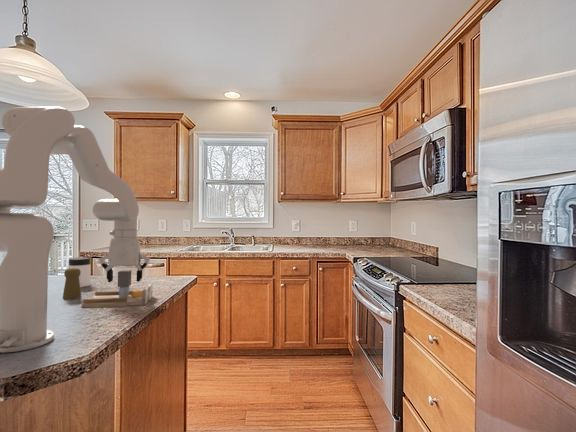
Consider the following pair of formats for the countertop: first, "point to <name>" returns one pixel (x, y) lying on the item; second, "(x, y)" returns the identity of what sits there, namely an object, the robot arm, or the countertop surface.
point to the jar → (82, 269)
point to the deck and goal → (117, 299)
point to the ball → (136, 294)
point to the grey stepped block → (124, 283)
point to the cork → (72, 284)
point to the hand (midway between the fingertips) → (124, 281)
